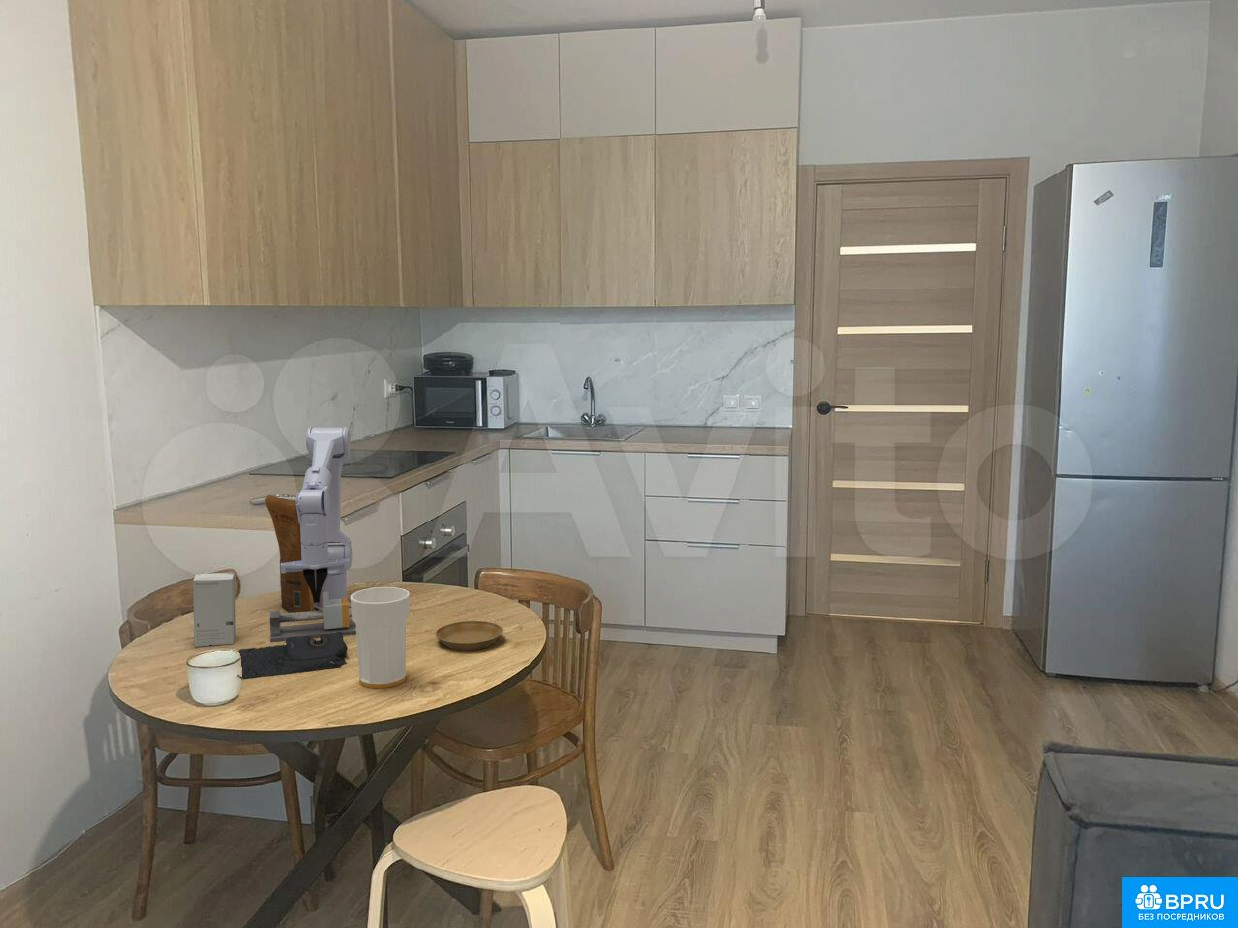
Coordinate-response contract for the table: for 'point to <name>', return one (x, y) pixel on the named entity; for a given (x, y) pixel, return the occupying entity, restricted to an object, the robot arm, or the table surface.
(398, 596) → the cup
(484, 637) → the plant saucer
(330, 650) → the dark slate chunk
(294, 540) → the pancake mix bag
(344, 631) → the board
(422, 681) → the table surface
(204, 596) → the skincare box
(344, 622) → the orange wooden block
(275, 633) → the pipe
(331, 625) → the sleeve
